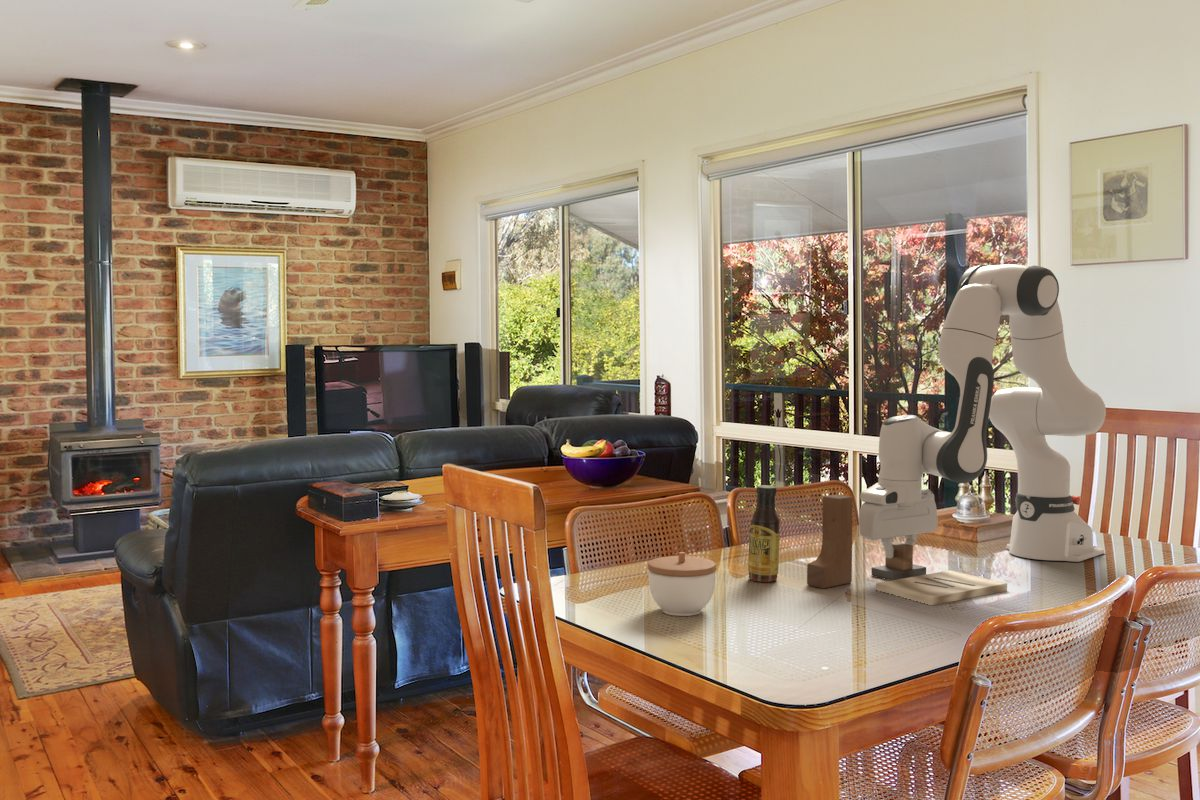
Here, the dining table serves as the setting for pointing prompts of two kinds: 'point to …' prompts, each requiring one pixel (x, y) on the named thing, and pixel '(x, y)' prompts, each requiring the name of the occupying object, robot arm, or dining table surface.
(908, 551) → the block
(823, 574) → the wooden block
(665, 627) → the dining table surface
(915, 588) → the birch board
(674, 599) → the lidded bowl
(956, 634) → the dining table surface
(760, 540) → the sauce bottle
